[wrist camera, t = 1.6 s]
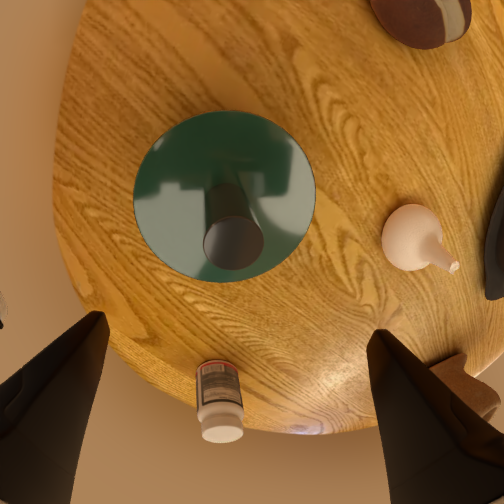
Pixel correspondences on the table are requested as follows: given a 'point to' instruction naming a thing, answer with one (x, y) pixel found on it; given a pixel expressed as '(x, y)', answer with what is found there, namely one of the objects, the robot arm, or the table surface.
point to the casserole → (495, 252)
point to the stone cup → (467, 386)
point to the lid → (224, 196)
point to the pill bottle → (219, 401)
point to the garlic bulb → (415, 240)
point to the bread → (424, 20)
